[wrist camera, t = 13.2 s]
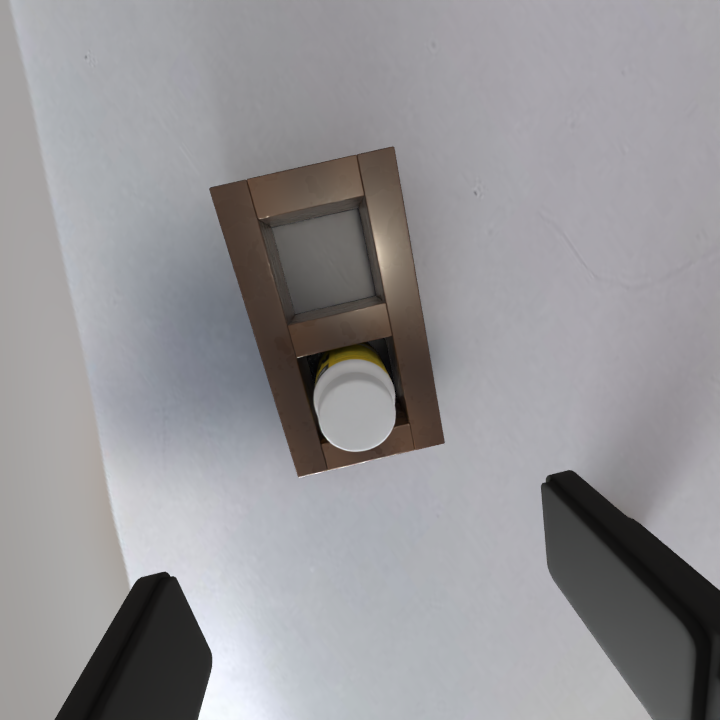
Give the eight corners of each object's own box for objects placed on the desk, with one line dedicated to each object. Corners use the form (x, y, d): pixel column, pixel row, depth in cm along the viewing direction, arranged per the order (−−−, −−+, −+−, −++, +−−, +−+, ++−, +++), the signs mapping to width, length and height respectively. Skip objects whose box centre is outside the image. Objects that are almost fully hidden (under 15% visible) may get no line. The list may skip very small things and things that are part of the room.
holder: (303, 444, 27) (298, 478, 23) (231, 201, 23) (208, 187, 18) (427, 415, 28) (444, 443, 23) (382, 168, 23) (394, 145, 18)
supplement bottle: (318, 335, 25) (312, 369, 17) (384, 338, 26) (408, 373, 18) (316, 398, 26) (309, 458, 18) (379, 400, 27) (399, 459, 19)
